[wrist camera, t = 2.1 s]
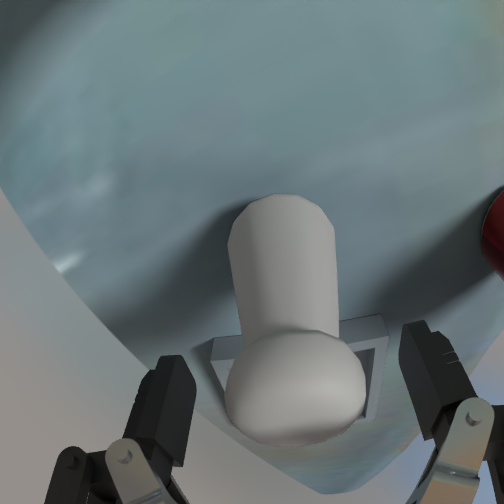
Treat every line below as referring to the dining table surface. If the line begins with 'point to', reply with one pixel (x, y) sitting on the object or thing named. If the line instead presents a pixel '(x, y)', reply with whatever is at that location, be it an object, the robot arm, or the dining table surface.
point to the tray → (350, 331)
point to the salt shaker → (289, 328)
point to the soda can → (494, 235)
